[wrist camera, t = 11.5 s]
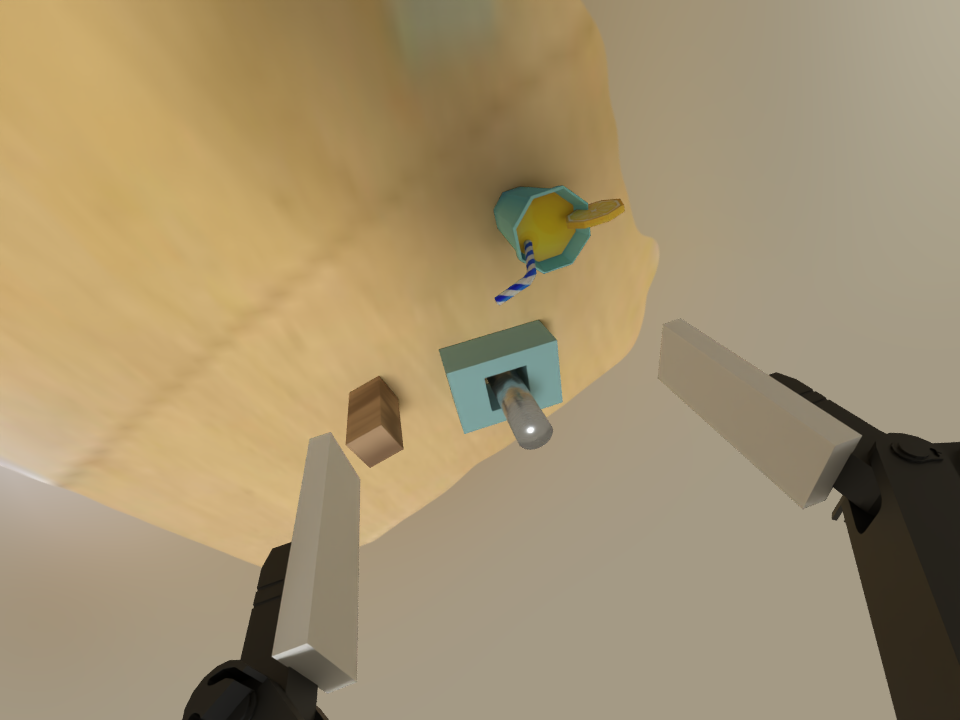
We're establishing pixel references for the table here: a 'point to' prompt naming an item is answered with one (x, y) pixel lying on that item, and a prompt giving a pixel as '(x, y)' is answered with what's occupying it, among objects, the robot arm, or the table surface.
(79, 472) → the table surface
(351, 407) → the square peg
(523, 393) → the round dowel
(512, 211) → the cup
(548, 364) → the socket block
